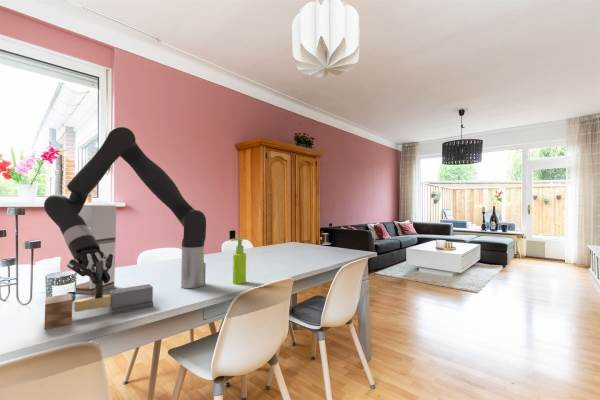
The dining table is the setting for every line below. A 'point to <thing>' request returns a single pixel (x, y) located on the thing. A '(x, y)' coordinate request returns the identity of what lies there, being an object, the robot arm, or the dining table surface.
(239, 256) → the soap dispenser
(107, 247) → the grey tall box
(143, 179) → the robot arm
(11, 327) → the dining table surface
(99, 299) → the post on wooden plank
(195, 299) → the dining table surface
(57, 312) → the socket block
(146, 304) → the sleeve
